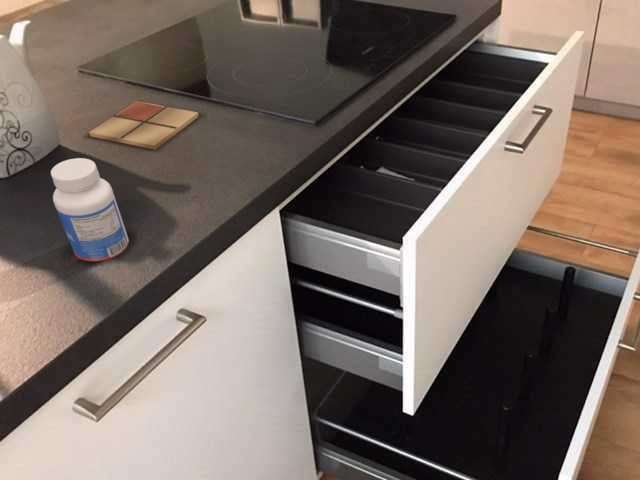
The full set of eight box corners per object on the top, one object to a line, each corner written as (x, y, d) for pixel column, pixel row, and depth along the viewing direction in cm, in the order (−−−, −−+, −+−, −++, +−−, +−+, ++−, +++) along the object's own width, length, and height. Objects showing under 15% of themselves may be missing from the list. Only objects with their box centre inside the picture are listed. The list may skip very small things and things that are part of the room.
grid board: (91, 140, 86) (88, 131, 85) (138, 108, 93) (136, 100, 92) (156, 154, 83) (153, 144, 82) (199, 120, 90) (197, 111, 89)
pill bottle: (76, 240, 69) (44, 157, 63) (129, 231, 71) (103, 149, 64) (74, 271, 66) (40, 186, 59) (130, 261, 67) (103, 177, 60)
